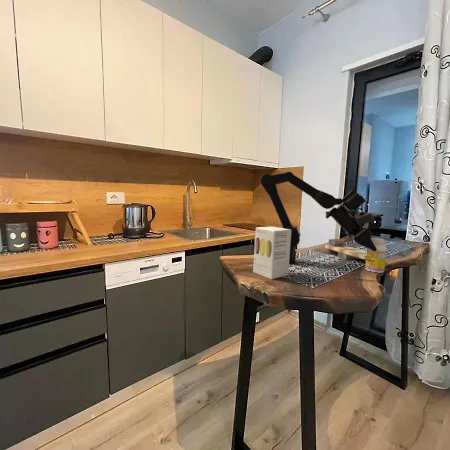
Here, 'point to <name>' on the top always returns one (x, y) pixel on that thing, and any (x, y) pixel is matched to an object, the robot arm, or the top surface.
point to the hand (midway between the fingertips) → (372, 248)
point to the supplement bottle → (376, 256)
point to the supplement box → (272, 251)
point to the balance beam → (344, 250)
